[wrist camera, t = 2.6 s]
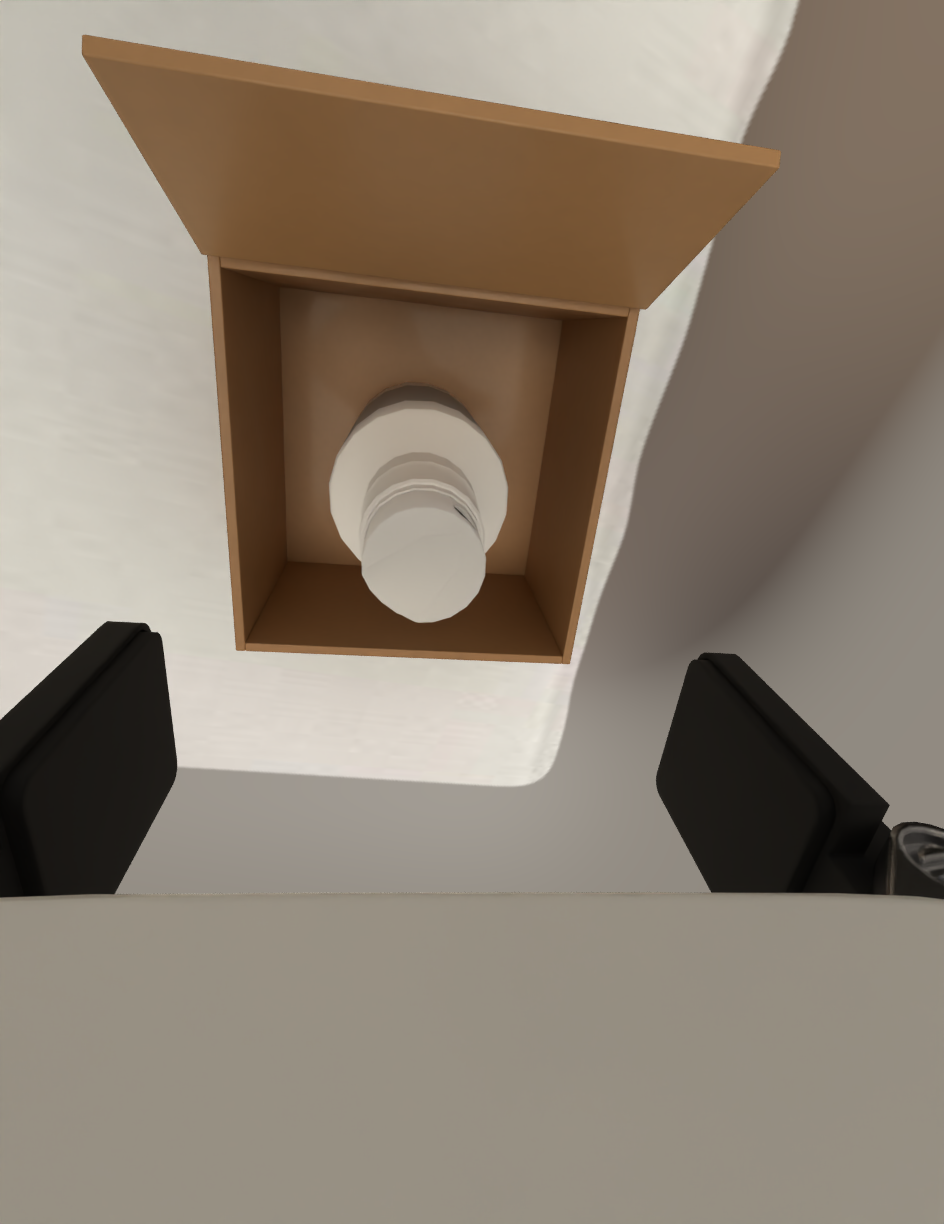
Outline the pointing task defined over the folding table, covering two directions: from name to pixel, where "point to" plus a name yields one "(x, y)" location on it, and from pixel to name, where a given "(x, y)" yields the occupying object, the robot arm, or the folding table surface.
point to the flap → (421, 178)
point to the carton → (328, 409)
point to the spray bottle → (419, 500)
